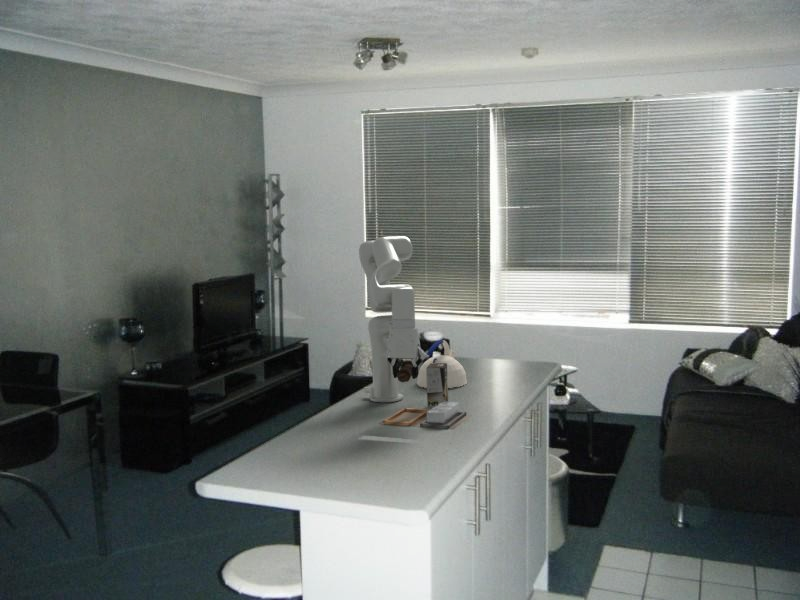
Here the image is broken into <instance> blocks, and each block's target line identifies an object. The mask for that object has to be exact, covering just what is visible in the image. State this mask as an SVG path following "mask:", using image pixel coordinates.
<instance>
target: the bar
mask: <svg viewBox="0 0 800 600" xmlns="http://www.w3.org/2000/svg"><path fill="white" fill-rule="evenodd" d="M460 407H461V406H460V402H455V401H448V402H441V403H440V404H438V405H437V406H435V407H434V408H432V409H431V410H429V411H428V412H427V423H428V424H442V425H447V424H449V423H450V422H451V421H453V420H454V419H455V418H457V417H458V416H459V415H460V412H461V411H460V409H461V408H460Z"/></svg>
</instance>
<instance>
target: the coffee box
mask: <svg viewBox="0 0 800 600" xmlns="http://www.w3.org/2000/svg"><path fill="white" fill-rule="evenodd" d="M426 372H427V388H426V403H427V404H426V406H427V410H431V409H432V408H434V407H435V406H437V405H438V404H440V403H441V402H449V389H448V377H447V363H435V364H432V363H430V364H429V365H428V367H427V368H426Z"/></svg>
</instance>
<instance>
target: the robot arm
mask: <svg viewBox="0 0 800 600" xmlns="http://www.w3.org/2000/svg"><path fill="white" fill-rule="evenodd" d="M413 250H414V249H413V244H412V241H411V239H410V238H409V237H407V236H405V235H401V236H400V235H395V236H392V235H391V236H382V237H381V236H380V237H378V238H376V239H375V240H368V241H364V242H362V243H361V244H360V245H359V248H358V256H359V262H360V265H361V268H362V269H363V272H364V274H365V277H366V280H367V282H366V283H367V291H368V292H367V293H368V299H369V301H368V302H369V307H370V309H371V311H372V312H374V313H377V314H379V313H381V314H382V313H383V314H384V313H391V314H387V315H386V314H385V315H378V316H374V317H372V318H371V319H370V320H369V321H368V327H367V329H368V334H369V339H370V345H371V364H372V370H371V371H372V387H370V386H369V387H368V386H364V388H363V390H364V393H365V394H370V396H369V401H371V402H375V403H394V402H399V401H401V400H403V398H404V395H403V394H401V393H400V392H399V391H400V390H399V380H398V377H397V374H398V372H399V370H400V365H399V364H398V362H399V359H400V360H411V361H412V364H413V367H412V376H411V378H412V379H413V380H415V379H418V374H419V366H420V365H421V363H423V361H424V360H425V359H426V358H427V357H428V355H427V353H426V352H425V351H424V350H423V349H422V348H421V342H420V341H421V340H420V335H419V332H418V327H416V313H415V312H416V310H415V309H416V308H415V307H416V306H415V290H414V288H413V286H412V285H410V284H408V283H400V284H399V283H398V284H391V282H390V280H392V279H394V278H396V277H398V275H400V273H401V271H402V270H403V269H402V268H403V267H402V263H401V262H405V261H409V260H410V259H411V257H412V256H413ZM418 357H419V358H418Z"/></svg>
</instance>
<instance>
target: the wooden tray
mask: <svg viewBox="0 0 800 600" xmlns="http://www.w3.org/2000/svg"><path fill="white" fill-rule="evenodd" d="M428 411H429V410H428V409H425V408H424V409H422V408H413V407H411V408H410V407H409V408H408V407H404V408H401V410H398V411H397V412H394V413H393V414H391V415H390V416H388V417H387V418H385V419H383V420H382V421H380V422H379V423H378V424H379V425H387V426H389V425H390V426H403V427H417V428H418V427H419V428H428V429H442V430H454V429H455V428H457V427H458V426H460V425H461V424H463V422H465V421H466V420H468V419H469V418H470V417H471V416H472V415H471V414H467V411H460V415H459V416H458V417H457V418H455V419H454V420H453V421H451V422H450V423H449V424H447V425H442V424H428V423H427V412H428Z"/></svg>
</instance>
